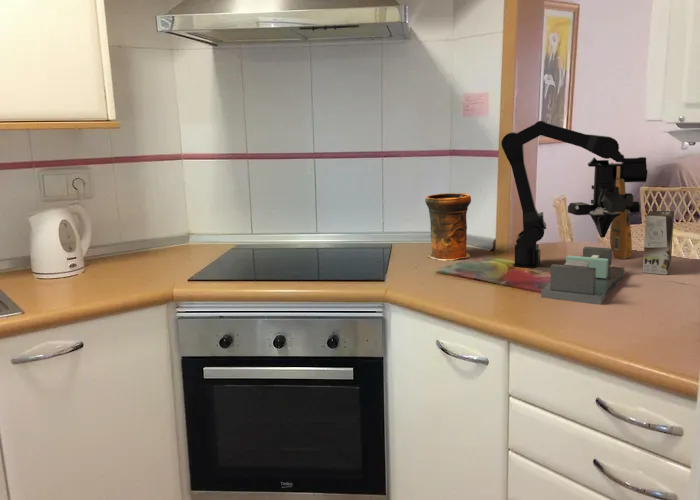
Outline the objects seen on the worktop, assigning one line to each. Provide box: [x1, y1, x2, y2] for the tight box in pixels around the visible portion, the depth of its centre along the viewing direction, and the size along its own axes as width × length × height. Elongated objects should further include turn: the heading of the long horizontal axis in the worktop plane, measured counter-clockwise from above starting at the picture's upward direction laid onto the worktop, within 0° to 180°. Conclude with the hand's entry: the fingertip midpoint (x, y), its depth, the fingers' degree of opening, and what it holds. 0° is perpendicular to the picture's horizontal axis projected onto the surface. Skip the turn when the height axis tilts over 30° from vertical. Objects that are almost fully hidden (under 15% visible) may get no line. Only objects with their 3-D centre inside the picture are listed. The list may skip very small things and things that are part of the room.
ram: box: [565, 246, 613, 278], centre depth 163 cm, size 10×14×5 cm
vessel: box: [424, 192, 472, 262], centre depth 194 cm, size 14×14×20 cm
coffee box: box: [642, 210, 675, 276], centre depth 167 cm, size 9×6×16 cm
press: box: [540, 263, 625, 305], centre depth 157 cm, size 14×29×8 cm, turn 147°
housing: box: [563, 260, 590, 268], centre depth 150 cm, size 5×5×6 cm
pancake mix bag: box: [609, 162, 633, 260], centre depth 187 cm, size 7×19×28 cm, turn 162°
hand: (602, 237), depth 173 cm, fingers closed
